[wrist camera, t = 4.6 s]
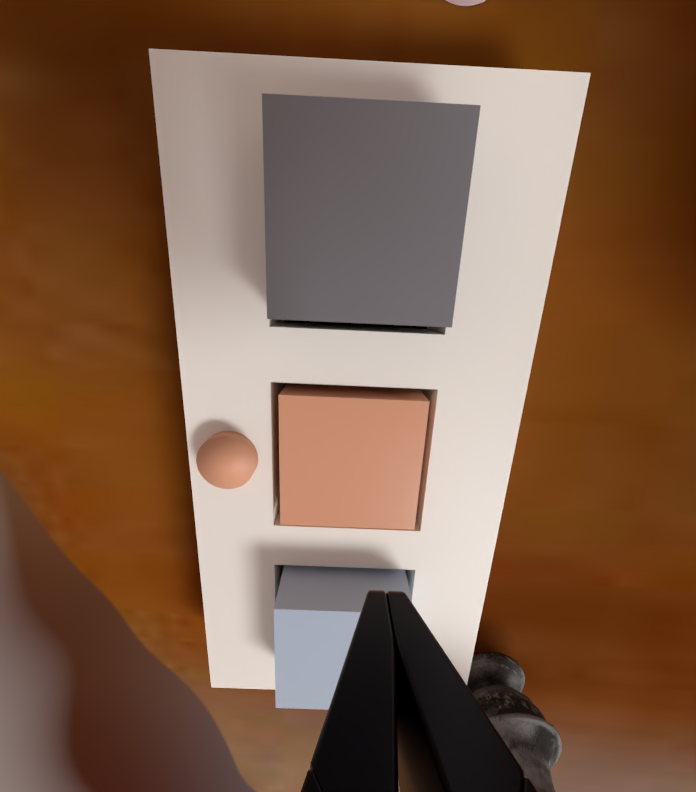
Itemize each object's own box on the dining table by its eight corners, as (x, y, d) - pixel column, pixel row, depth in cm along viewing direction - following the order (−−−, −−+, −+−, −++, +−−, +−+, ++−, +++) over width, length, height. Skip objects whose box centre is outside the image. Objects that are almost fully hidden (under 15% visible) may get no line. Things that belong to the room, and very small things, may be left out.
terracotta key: (291, 378, 16) (278, 394, 13) (414, 383, 16) (429, 401, 13) (291, 487, 17) (280, 524, 14) (403, 492, 17) (414, 529, 15)
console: (192, 104, 13) (136, 33, 10) (537, 123, 13) (604, 59, 10) (230, 633, 21) (206, 700, 17) (448, 641, 21) (468, 708, 17)
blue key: (286, 556, 17) (273, 609, 14) (403, 560, 17) (414, 614, 14) (287, 644, 18) (275, 707, 15) (393, 647, 18) (401, 712, 15)
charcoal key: (282, 144, 12) (262, 93, 9) (448, 153, 12) (480, 105, 9) (284, 315, 13) (267, 318, 11) (429, 322, 13) (451, 327, 11)
